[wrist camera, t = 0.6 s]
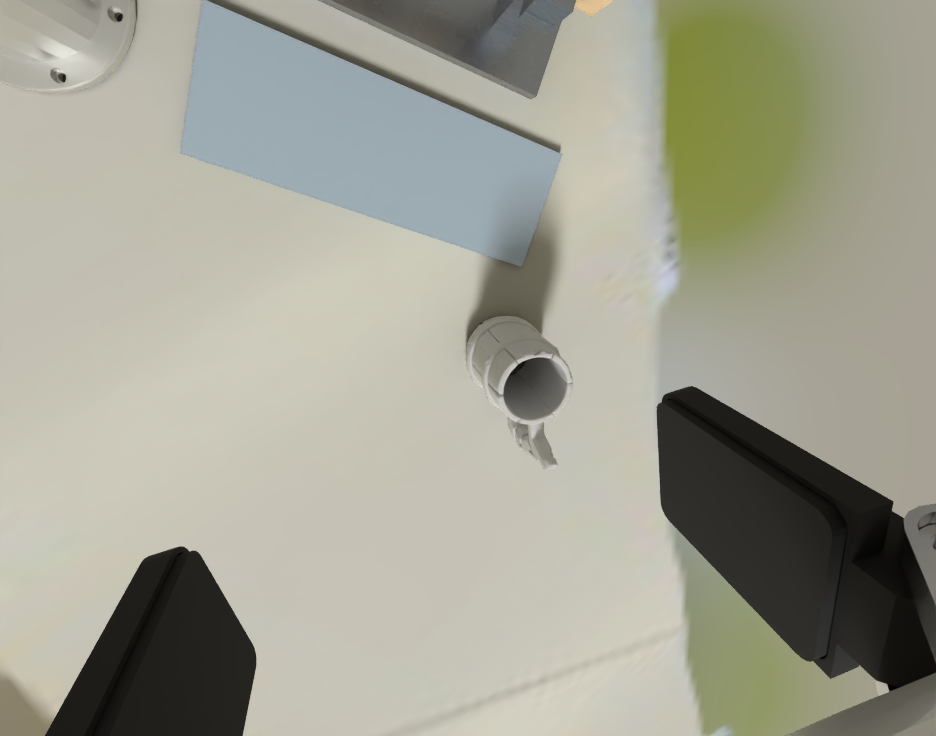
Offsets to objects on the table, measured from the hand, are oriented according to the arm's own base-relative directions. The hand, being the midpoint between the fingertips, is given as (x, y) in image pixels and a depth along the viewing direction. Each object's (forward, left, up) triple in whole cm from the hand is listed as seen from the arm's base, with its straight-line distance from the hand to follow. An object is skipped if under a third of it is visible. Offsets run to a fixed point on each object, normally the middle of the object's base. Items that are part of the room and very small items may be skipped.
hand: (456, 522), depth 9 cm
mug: (+14, -6, -34) cm, 38 cm away
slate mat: (-2, +9, -34) cm, 35 cm away
